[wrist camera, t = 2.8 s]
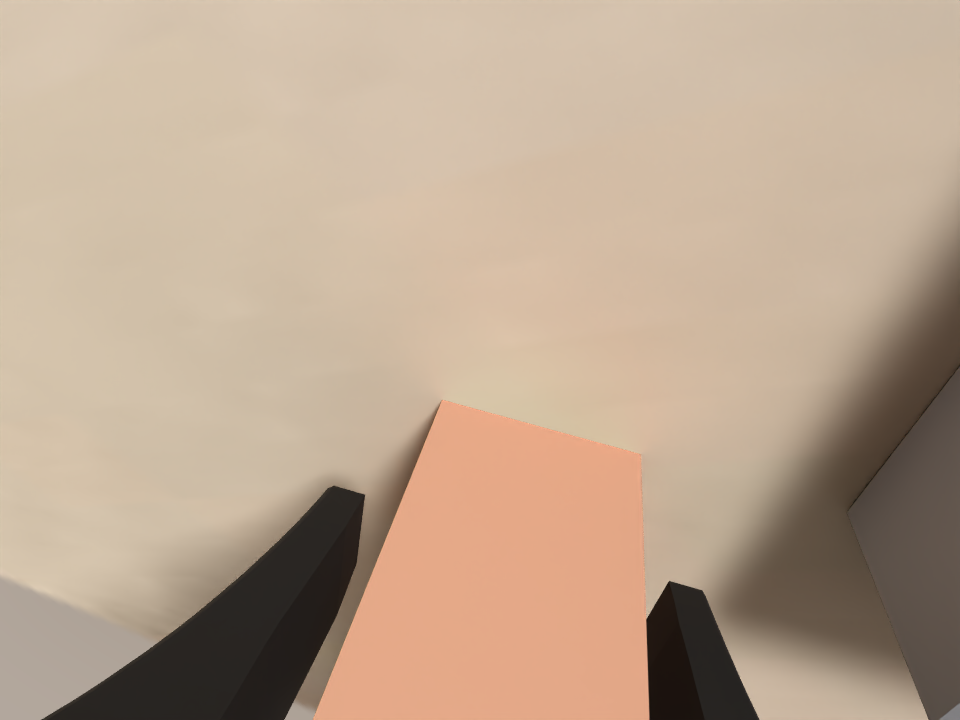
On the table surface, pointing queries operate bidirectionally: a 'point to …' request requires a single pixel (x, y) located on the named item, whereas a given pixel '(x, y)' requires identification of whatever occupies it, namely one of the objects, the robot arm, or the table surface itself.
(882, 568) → the socket board
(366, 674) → the peg
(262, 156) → the table surface
